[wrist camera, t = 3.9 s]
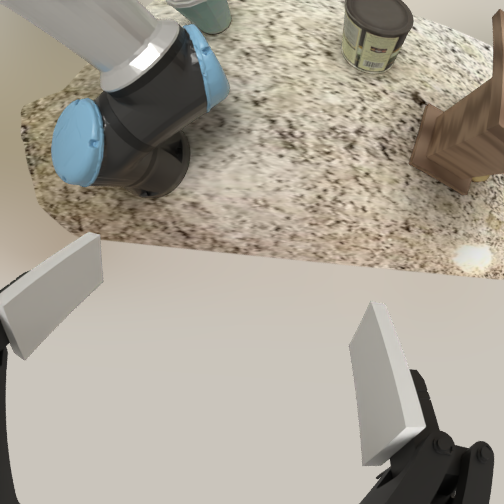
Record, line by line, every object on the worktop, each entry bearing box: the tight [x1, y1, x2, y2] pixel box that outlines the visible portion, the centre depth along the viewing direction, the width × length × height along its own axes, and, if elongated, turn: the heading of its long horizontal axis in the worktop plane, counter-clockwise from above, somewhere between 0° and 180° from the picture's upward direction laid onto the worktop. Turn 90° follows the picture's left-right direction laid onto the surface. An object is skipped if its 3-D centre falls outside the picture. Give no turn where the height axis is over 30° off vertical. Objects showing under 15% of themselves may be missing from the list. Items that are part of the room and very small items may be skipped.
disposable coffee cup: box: [166, 0, 231, 34], centre depth 36 cm, size 11×11×15 cm
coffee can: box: [341, 0, 413, 74], centre depth 32 cm, size 10×10×14 cm
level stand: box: [409, 9, 504, 195], centre depth 25 cm, size 15×17×30 cm
